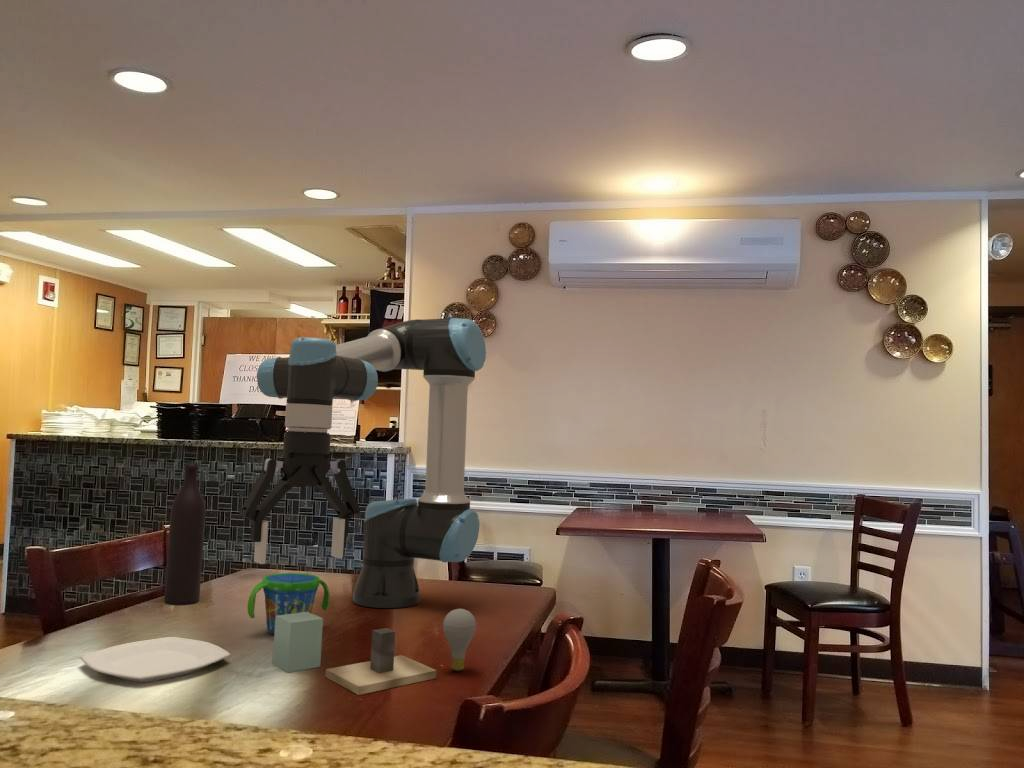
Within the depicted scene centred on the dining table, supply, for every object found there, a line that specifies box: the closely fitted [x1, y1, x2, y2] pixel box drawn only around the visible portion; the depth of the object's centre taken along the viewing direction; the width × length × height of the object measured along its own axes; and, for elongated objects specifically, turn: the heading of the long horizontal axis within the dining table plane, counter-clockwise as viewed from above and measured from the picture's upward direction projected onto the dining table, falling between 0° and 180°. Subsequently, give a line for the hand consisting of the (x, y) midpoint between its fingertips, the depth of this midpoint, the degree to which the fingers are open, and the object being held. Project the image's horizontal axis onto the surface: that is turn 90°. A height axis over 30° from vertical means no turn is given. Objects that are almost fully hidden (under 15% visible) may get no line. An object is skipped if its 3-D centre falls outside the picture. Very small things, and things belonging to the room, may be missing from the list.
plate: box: [80, 636, 231, 683], centre depth 121 cm, size 19×19×2 cm
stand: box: [325, 627, 437, 696], centre depth 119 cm, size 14×10×7 cm
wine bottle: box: [163, 462, 206, 606], centre depth 166 cm, size 7×7×30 cm
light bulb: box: [442, 608, 477, 673], centre depth 124 cm, size 6×6×10 cm
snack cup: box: [247, 572, 331, 635], centre depth 144 cm, size 16×10×10 cm
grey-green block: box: [272, 612, 324, 674], centre depth 124 cm, size 6×6×8 cm
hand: (299, 559), depth 125 cm, fingers open, 13 cm apart
